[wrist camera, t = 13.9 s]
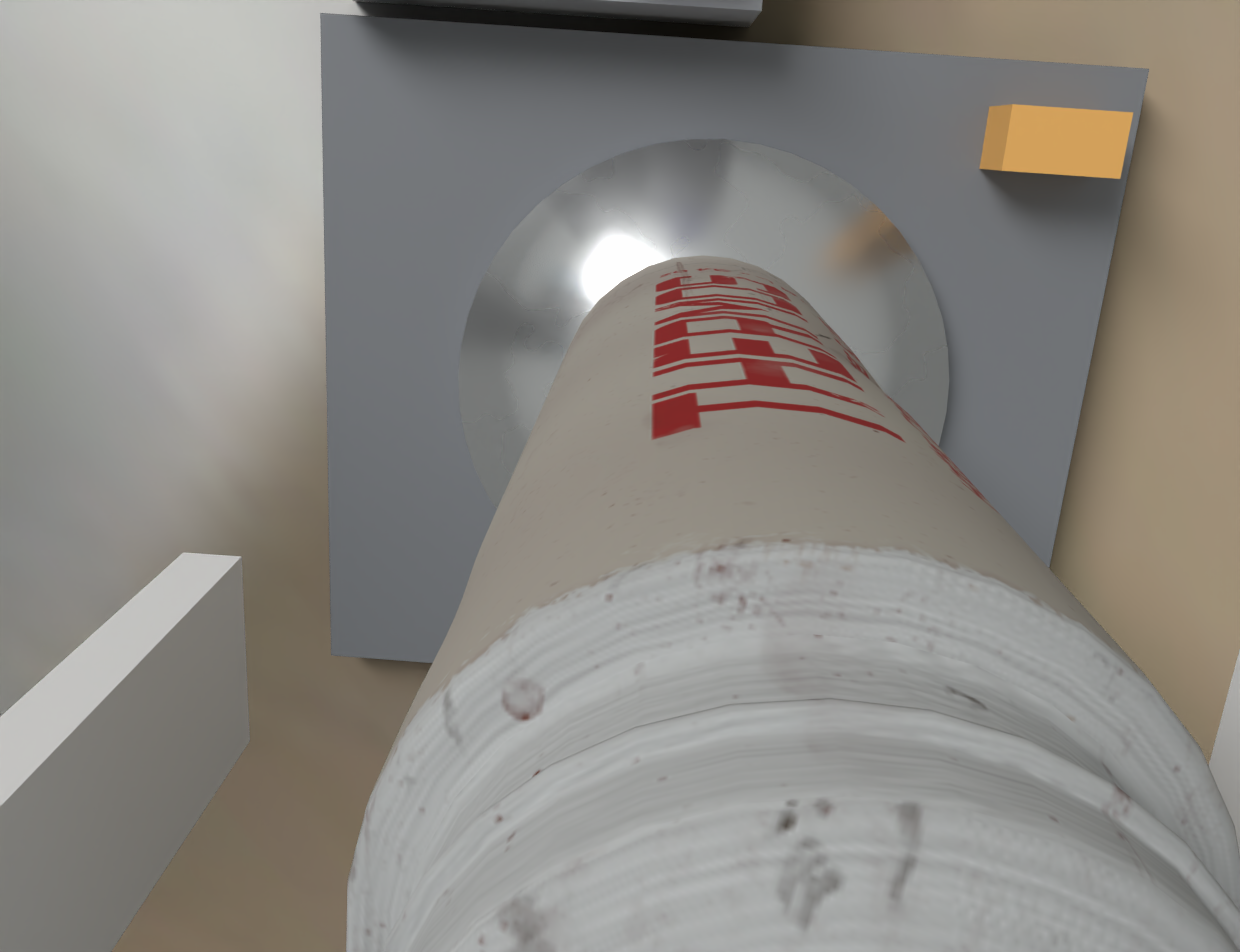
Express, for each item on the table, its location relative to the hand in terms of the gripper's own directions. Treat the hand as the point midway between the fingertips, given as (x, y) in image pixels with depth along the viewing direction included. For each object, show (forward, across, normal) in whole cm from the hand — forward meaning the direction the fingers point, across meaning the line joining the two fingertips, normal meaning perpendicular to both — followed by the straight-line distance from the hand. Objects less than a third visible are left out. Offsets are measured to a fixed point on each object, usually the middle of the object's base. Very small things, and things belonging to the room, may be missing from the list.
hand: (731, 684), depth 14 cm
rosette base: (+19, 0, 0) cm, 19 cm away
